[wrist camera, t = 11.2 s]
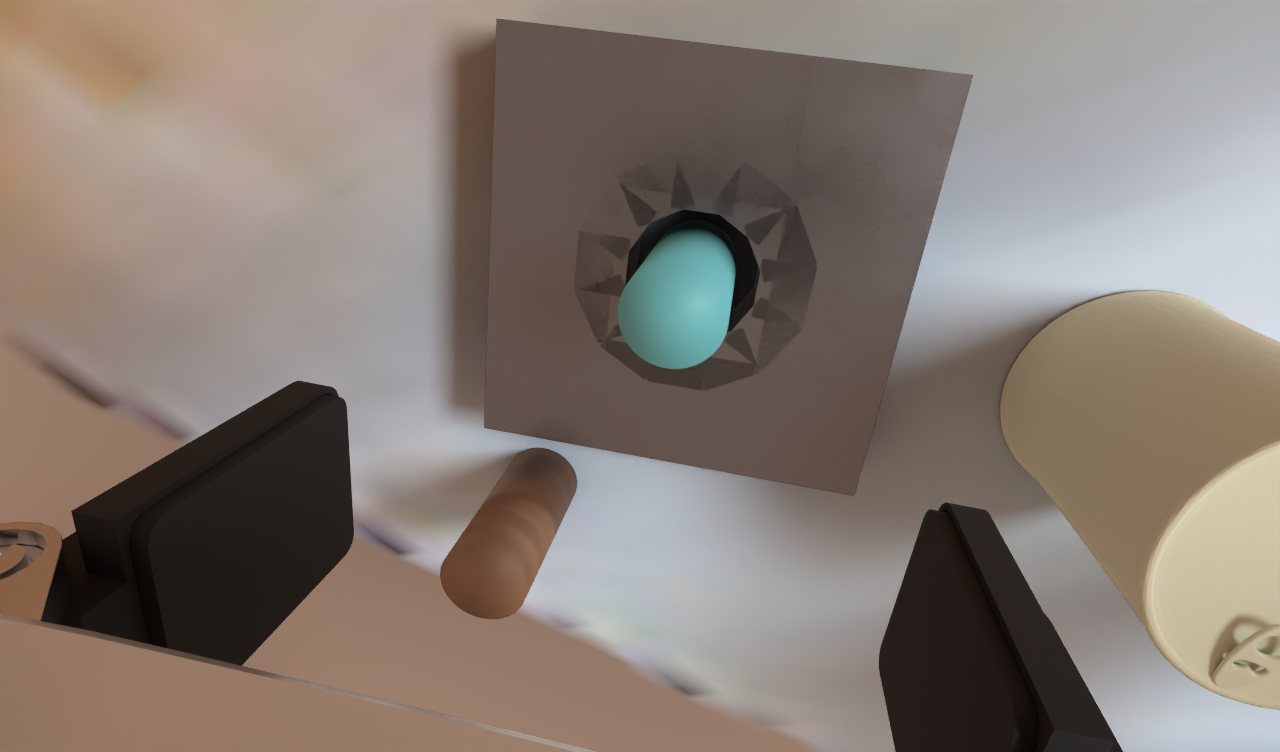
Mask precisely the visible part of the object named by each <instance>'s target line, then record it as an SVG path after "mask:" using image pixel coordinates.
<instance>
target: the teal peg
mask: <svg viewBox="0 0 1280 752" xmlns="http://www.w3.org/2000/svg"><path fill="white" fill-rule="evenodd" d="M736 269H737V254H736V250H735V247H734V244H733V242H732V240H731V239H730V237H729V236H728V235H727V234H726V233H725V232H724V231H723V230H722V229H721V228H719V227H718V226H716V225H715V224H713V223H710V222H707V221H703V220H689V221H684V222H681V223H679V224H676V225H675V226H673V227H672V228H670V229H669V230H668V231H667V232H666V233H665V234H664V235H663V236H662V237H661V239H660V240H659V241H658V243H657V244H656V246H655V247H654V248H653V250H652V251H651V252H650V254H649V255H648V256H647V258H646V259H645V260H644V262H643V263H642V264H641V266H640V267H639V268H638V270H637V271H636V272H635V274H634V275H633V276H632V278H631V279H630V281H629V282H628V283H627V285H626V286H625V288H624V290H623V292H622V294H621V297H620V300H619V305H618V322H619V327H620V330H621V333H622V335H623V337H624V339H625V341H626V343H627V344H628V345H629V347H630V348H631V349H632V350H633V351H634V352H635V353H636V354H637V355H638V356H639V357H641V358H642V359H643V360H645V361H647V362H649V363H651V364H653V365H656V366H658V367H663V368H669V369H682V368H688V367H691V366H694V365H697V364H699V363H701V362H703V361H705V360H706V359H708V358H709V357H710V356H711V355H712V354H713V353H714V352H715V351H716V350H717V349H718V348H719V347H720V345H721V343H722V342H723V340H724V338H725V335H726V333H727V329H728V324H729V317H730V310H731V303H732V297H733V290H734V283H735V276H736Z"/></svg>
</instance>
